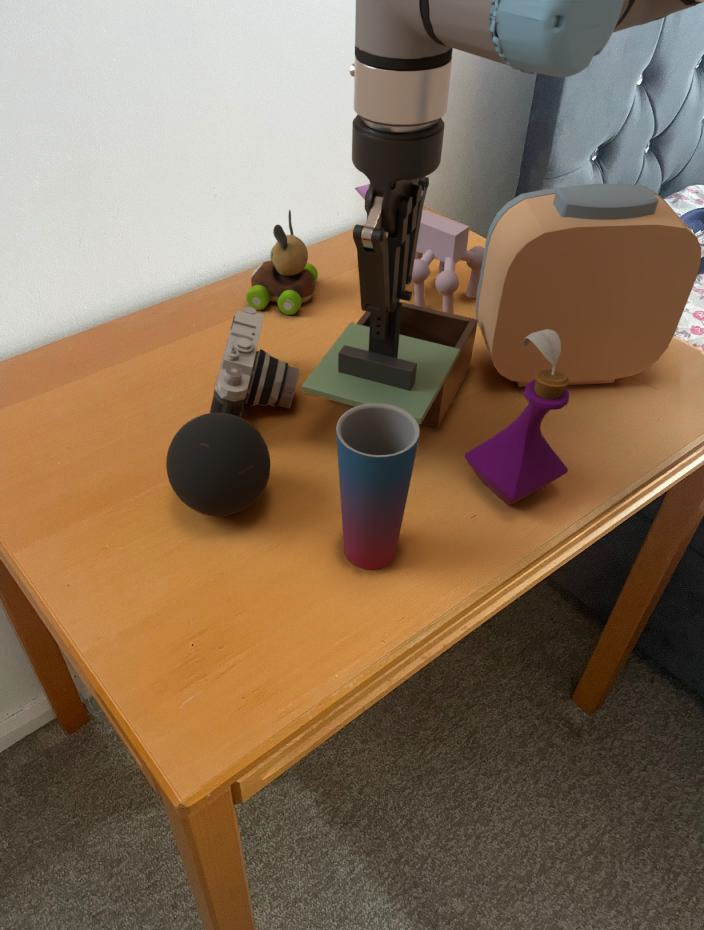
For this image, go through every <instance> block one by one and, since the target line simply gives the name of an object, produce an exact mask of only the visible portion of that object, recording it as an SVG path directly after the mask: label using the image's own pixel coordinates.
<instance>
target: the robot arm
mask: <svg viewBox="0 0 704 930" xmlns="http://www.w3.org/2000/svg"><path fill="white" fill-rule="evenodd" d="M702 3H704V0H355V16H354V17H355V22H354V23H355V26H354V31H355V32H354V63H351V65H350V67H349V75H350V76H351V77H354V78H353V81H354V82H353V111H354V112H355V113H356V114H357V115H356V116H355V117H354V118H353V119H352V124H351V125H352V128H351V129H352V131H351V142H352V143H351V162H352V164H353V166H354V167H355V168H356V170H357V171H359V172H360V173H362V174H363V175H364V176H365V177H366V178H367V179H368V182H369V183H368V184H369V189H368V190H367V192H366V195H365V200H364V210H365V212H366V221H365V224H364V225H362V224H355V225H354V226H353V230H352V239H353V242H354V244H355V248H356V254H357V256H356V257H357V269H358V270H357V271H358V281H359V294H360V296H359V297H360V308H361V311H364V312H366V311H368V312H370V331H369V351H370V352H374V353H378V354H382V355H386V356H390V357H394V358H398V346H399V334H400V322H401V310H402V301H400V300H403V301H407V302H410V301H411V299H412V296H413V291H410V290H406V288H407V287H406V286H407V285H410V284H411V283H412V282H411V280H412V272H413V266H414V260H415V254H416V248H417V241H418V235H419V229H420V223H421V217H422V211H423V209H424V205H425V204H424V203H425V200H426V195H427V192H428V189H429V186H430V177H428V176H430V175H431V174H433V173H434V172H436V170H438V168H439V167H440V164H441V162H442V153H443V146H444V145H443V143H444V135H445V127H446V126H445V125H446V124H445V122H444V120H443V119H442V117H444V116H445V115H446V113H447V110H448V102H449V91H450V81H451V72H452V62H453V51H454V49H455V50H457V51H461V52H464V53H468V54H471V55H474V56H477V57H480V58H483V59H485V60H490V61H493V62H496V63H499V64H503V65H506V66H509V67H511V68H512V69H513V70H515V71H520V72H521V73H524V74H529V75H530V74H531V75H534V74H540V75H545V76H552V77H556V78H569V77H572V76H576V75H577V74H579V73H581V72H583V71H584V70H585V69H587V68H588V67H589V66H590V64H591V62H592V60H593V58H594V57H595V56H598V55H600V54H601V53H602V52H603V50H604V49H605V47H606V46H607V44H608V42H609V40H610V39H611V37H612V34H613V33H616V32H620V31H624V30H627V29H631V28H633V27H637V26H642V25H646V24H649V23H652V22H655V21H659V20H661V19H664V18H666V17H668V16H670V15H672V14H674V13H678V12H680V11H681V12H682V11H683V10H684V11H685V10H686V9H690V8H693V7H696V6H697V5H699V4H702Z"/></svg>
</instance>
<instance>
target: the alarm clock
mask: <svg viewBox="0 0 704 930" xmlns="http://www.w3.org/2000/svg"><path fill="white" fill-rule="evenodd" d="M486 235H487V236H486V238H485V244H484V248H485V249H484V255H483V261H482V267H481V273H480V279H479V285H478V289H477V293H476V297H475V298H476V299H475V315H476V319H477V320H478V322H477V326H478V327H479V329H480V332H481V335H482V338H483V340H484V343H485V346H486V348H487V351H488V354H489V356H490V359H491V362H492V364H493V367H494V368H495V370H497V373H498V374H499V375H501V376H502V377H504V378H505V379H507V380H509V381H511V382H516V383H517V386H518V388H522V387H524V388H526V385H527V384H528V383H529V382H531V381H533V380H534V379H535V378H536V373H539V372H541V371H543V370H552V369H553V365H552V364H551V363H550V362H549V361H548V360H547V359H546V358H545V357H544V356H543V354H542V353H541V352H540V350H539V349H538V348H537V347H536V346H535V344H534V343H533V342H532V341H530V342H529V344H528V345H527V346H525V345H524V343H523V340H524V339H525V338H526V337H527V336H528V335H530V334H531V333H534V332H538V331H542V330H546V329H549V330H554V331H555V332H556V333H557V334H558V336H559V338H560V341H561V353H560V355H559V358H558V360H557V363H556V367H555V370H556V371H559V372H562V373H564V375H565V376H566V377H567V378H568V379H569V384H568V386H572V385H574V386H575V385H594V384H595V385H596V384H597V385H598V384H614V383H615V380H617V379H621V378H628V377H632V376H635V375H637V374H639V373H641V372H643V371H645V370H648V369H649V368H650V367H651V366H653V364H655V363H656V362H657V361H658V360H659V359H660V358H661V357H662V355H663V354H664V353H665V351H667V349H668V348H669V346H670V344H671V342H672V340H673V338H674V336H675V334H676V331H677V328H678V326H679V323H680V321H681V318H682V316H683V313H684V311H685V308H686V306H687V303H688V301H689V298H690V295H691V293H692V290H693V288H694V285H695V282H696V280H697V277H698V274H699V270H700V267H701V263H702V246H701V244H700V241H699V239H698V237H697V235H695V233H694V232H693V231H692V230H691V228H690V227H689V226H688V225H687V224H686V223H685V222H684V220H683V219H682V218H681V217H680V216H679V215H678V213H676V211H675V210H674V209H673V208H672V207H671V206H670V204H669V203H668V202H667V201H666V200H665V199H664V198H663V197H662V196H661V195H659V194H658V193H657V192H656V191H655V190H654V189H650V188H649V186H647V185H640V184H632V183H630V184H629V183H591V184H589V183H588V184H579V185H570V186H567V187H566V186H565V187H556V188H554V187H553V188H545V189H540V190H535V191H530V192H525V193H520V194H518V195H517V196H515V197H514V198H513V199H511V200H509V201H508V202H505V204H504V205H503V206H502V207H501V208H500V209H499V211H498V212H497V213H496V214H495V216H494V218H493V220H492V222H491V223H490V226H489V228H488V232H487V234H486Z"/></svg>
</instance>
